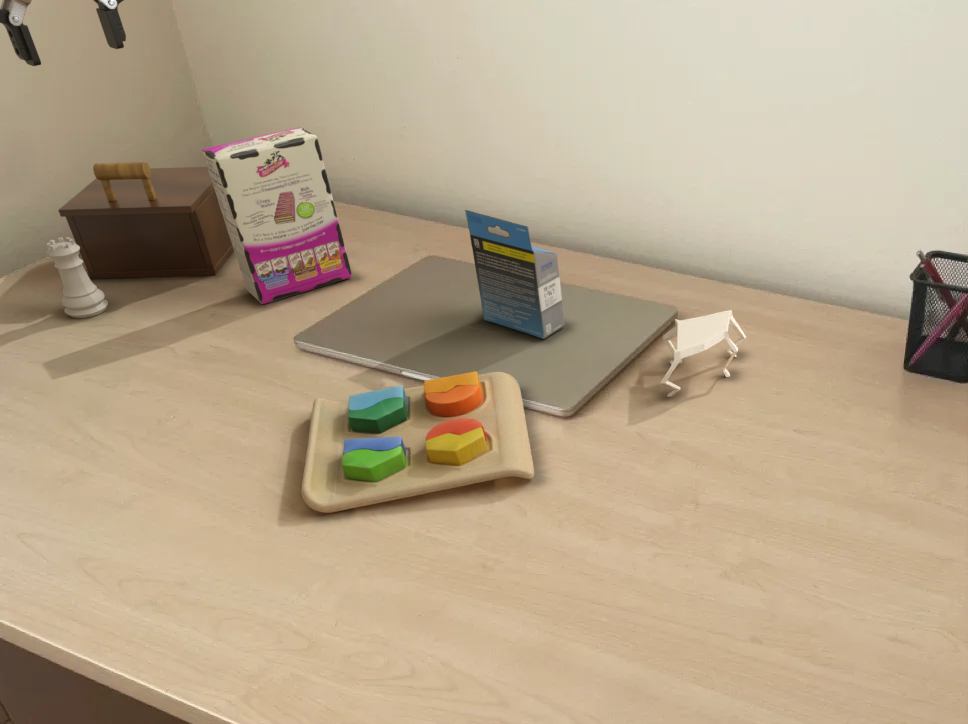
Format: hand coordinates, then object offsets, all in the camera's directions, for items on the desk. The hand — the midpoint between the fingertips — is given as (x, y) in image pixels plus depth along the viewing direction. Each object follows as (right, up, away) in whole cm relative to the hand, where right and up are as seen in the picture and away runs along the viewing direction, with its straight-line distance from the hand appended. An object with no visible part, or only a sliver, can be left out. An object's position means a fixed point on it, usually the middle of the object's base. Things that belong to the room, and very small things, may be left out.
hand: (76, 55), depth 109 cm
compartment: (-1, -15, +20) cm, 25 cm away
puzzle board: (+40, -42, -14) cm, 60 cm away
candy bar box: (+18, -21, +13) cm, 30 cm away
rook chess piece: (-4, -25, +9) cm, 26 cm away
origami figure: (+64, -34, -5) cm, 73 cm away
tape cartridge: (+45, -27, +5) cm, 53 cm away
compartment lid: (-1, -9, +15) cm, 18 cm away
